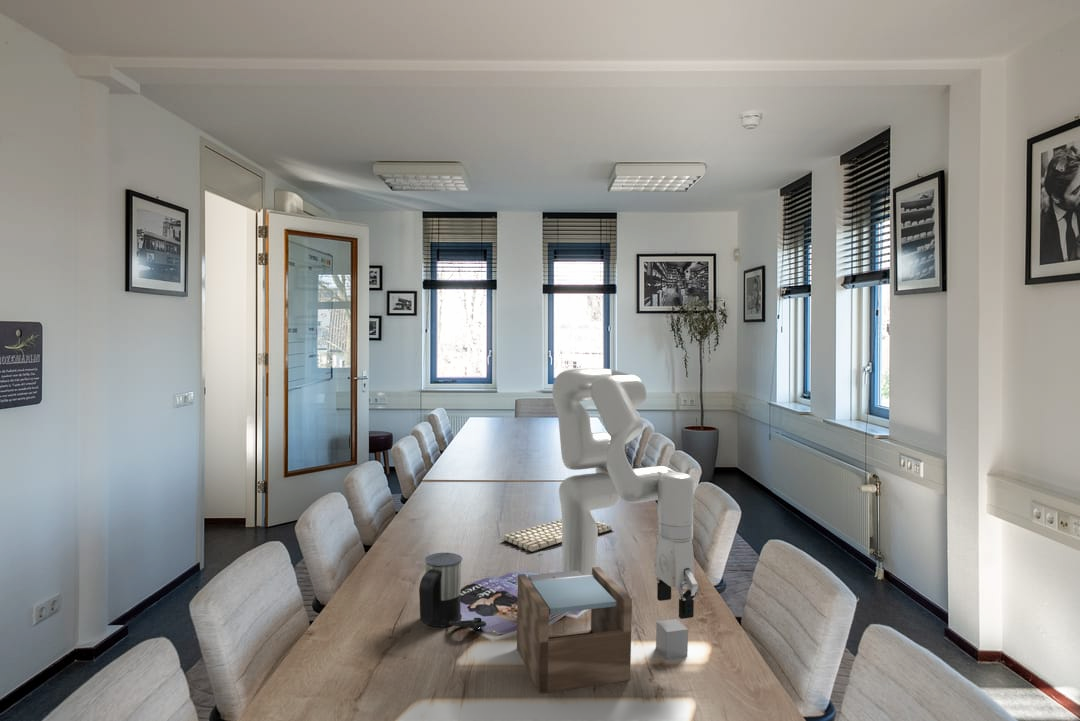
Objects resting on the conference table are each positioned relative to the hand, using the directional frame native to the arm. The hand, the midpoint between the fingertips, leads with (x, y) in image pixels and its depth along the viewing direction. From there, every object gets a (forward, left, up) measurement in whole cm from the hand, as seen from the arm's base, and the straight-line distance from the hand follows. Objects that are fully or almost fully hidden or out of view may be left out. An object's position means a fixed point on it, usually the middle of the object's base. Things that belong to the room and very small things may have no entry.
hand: (674, 608), depth 137 cm
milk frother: (-26, -44, -10) cm, 52 cm away
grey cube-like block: (-1, 0, -10) cm, 10 cm away
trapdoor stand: (-2, -23, -10) cm, 25 cm away
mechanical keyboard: (-81, 0, -11) cm, 82 cm away
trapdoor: (-5, -23, -1) cm, 24 cm away
